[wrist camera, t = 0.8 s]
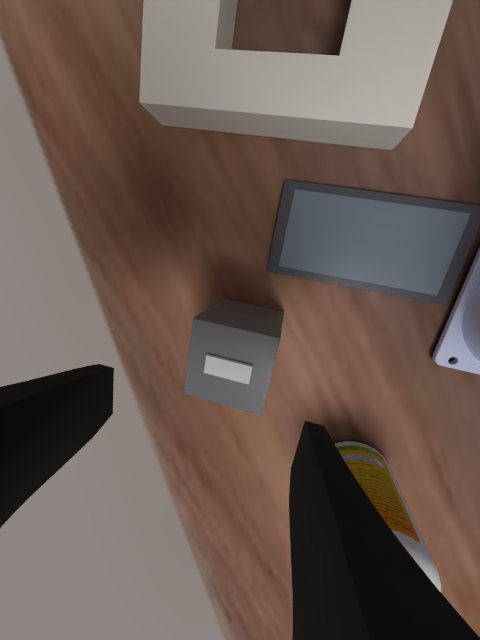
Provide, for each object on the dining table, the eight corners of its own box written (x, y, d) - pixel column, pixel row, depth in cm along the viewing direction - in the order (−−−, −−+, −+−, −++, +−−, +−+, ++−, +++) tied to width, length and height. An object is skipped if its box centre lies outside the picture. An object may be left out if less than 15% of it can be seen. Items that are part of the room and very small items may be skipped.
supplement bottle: (301, 455, 20) (310, 627, 11) (363, 427, 18) (436, 603, 9) (339, 503, 20) (379, 709, 11) (403, 481, 19) (511, 701, 9)
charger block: (283, 311, 17) (279, 339, 11) (271, 366, 18) (261, 418, 13) (224, 298, 18) (191, 319, 12) (216, 352, 19) (182, 395, 13)
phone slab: (285, 184, 16) (285, 179, 15) (474, 209, 14) (488, 206, 13) (268, 269, 17) (266, 270, 16) (436, 301, 16) (446, 305, 15)
